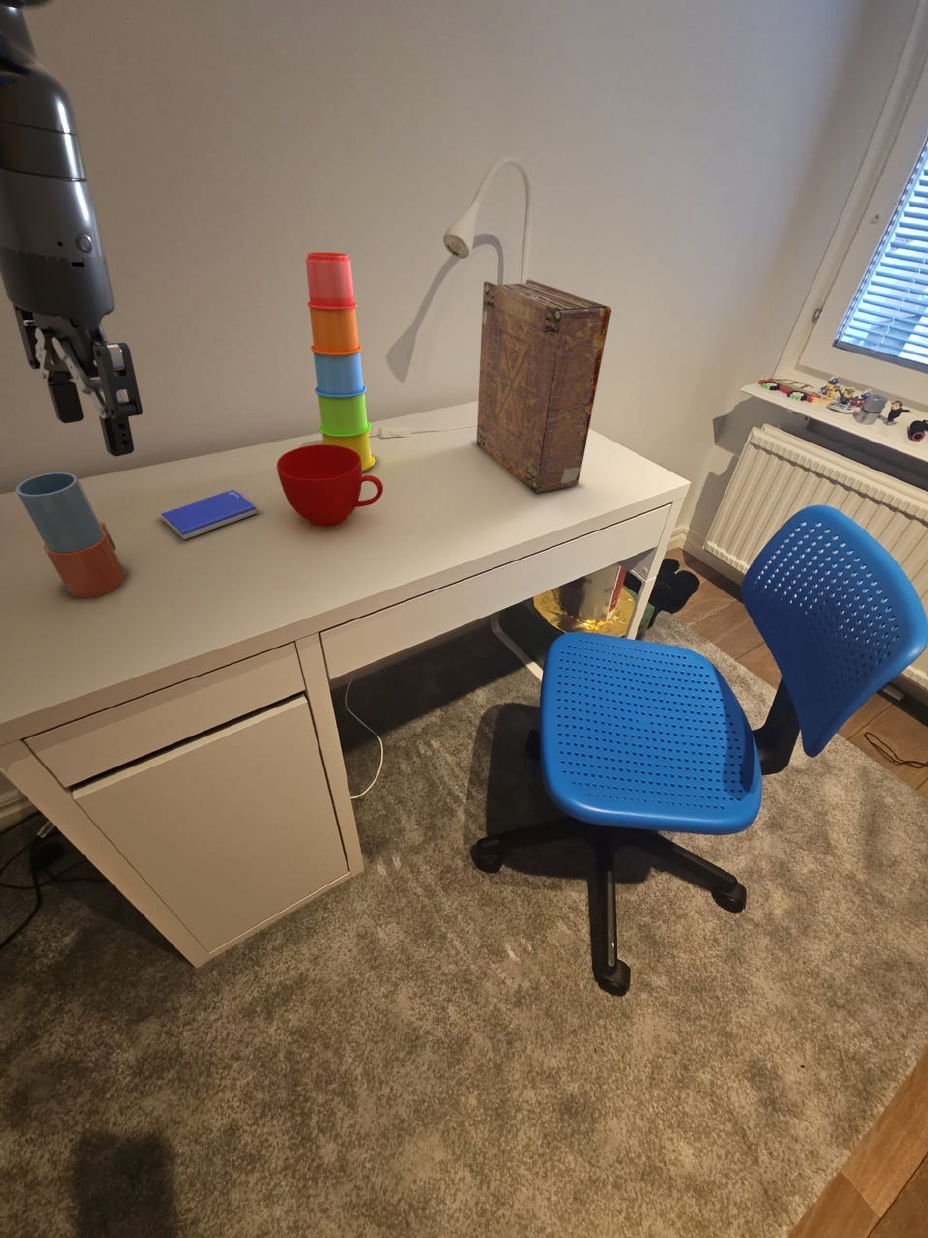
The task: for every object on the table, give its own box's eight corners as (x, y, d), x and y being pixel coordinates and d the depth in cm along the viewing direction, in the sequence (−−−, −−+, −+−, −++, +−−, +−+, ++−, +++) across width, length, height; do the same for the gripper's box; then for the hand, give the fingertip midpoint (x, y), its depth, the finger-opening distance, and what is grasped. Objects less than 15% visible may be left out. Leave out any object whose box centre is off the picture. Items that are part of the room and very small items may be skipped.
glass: (88, 553, 69) (59, 496, 63) (36, 552, 68) (3, 495, 63) (111, 526, 74) (86, 472, 68) (63, 526, 73) (35, 471, 68)
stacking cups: (311, 464, 106) (277, 252, 83) (351, 449, 112) (330, 247, 89) (345, 481, 101) (319, 261, 78) (386, 464, 107) (372, 255, 84)
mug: (110, 597, 73) (88, 554, 68) (57, 597, 73) (32, 554, 68) (142, 556, 81) (124, 514, 76) (94, 555, 80) (73, 514, 76)
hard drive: (232, 488, 94) (160, 512, 87) (255, 505, 90) (181, 532, 83) (234, 496, 95) (163, 520, 88) (257, 514, 91) (184, 540, 84)
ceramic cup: (368, 548, 84) (362, 490, 77) (272, 529, 87) (259, 471, 81) (399, 509, 93) (397, 454, 87) (312, 493, 97) (303, 439, 90)
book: (475, 442, 116) (483, 280, 97) (513, 436, 119) (527, 278, 100) (537, 494, 99) (561, 310, 79) (578, 486, 102) (611, 306, 83)
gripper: (-53, 215, 43) (14, 417, 53) (46, 263, 38) (98, 475, 48) (51, 223, 48) (94, 405, 58) (149, 266, 43) (176, 456, 53)
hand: (96, 436), depth 53 cm, fingers open, 8 cm apart
